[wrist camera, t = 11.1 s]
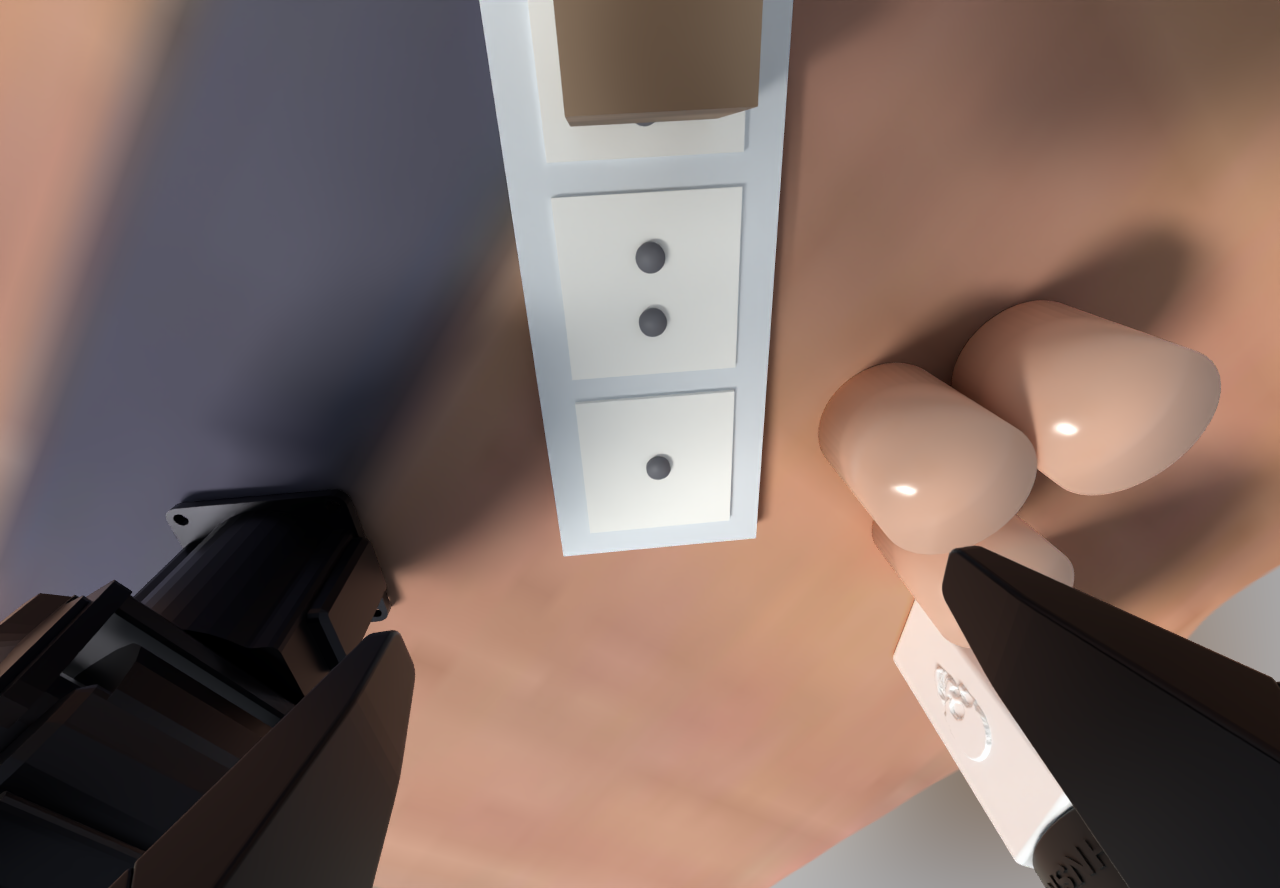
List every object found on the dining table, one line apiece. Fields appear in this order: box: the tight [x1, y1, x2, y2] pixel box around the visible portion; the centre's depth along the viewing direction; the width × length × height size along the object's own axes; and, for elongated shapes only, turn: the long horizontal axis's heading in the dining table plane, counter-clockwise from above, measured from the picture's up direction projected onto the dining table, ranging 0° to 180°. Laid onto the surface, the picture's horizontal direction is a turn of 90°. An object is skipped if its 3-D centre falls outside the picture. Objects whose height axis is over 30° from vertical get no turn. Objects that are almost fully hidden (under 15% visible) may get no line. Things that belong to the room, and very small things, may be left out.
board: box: [479, 0, 793, 556], centre depth 17 cm, size 8×21×1 cm, turn 3°
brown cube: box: [553, 0, 763, 127], centre depth 12 cm, size 4×4×4 cm
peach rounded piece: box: [872, 514, 1074, 648], centre depth 21 cm, size 5×5×5 cm
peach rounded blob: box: [951, 300, 1221, 495], centre depth 18 cm, size 5×5×5 cm
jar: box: [893, 599, 1129, 888], centre depth 22 cm, size 9×8×12 cm
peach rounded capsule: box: [818, 363, 1037, 555], centre depth 19 cm, size 5×5×5 cm
